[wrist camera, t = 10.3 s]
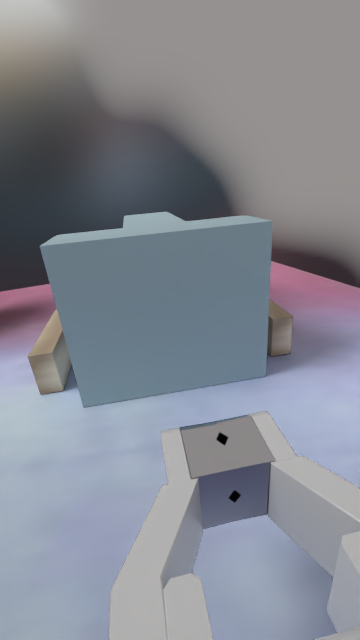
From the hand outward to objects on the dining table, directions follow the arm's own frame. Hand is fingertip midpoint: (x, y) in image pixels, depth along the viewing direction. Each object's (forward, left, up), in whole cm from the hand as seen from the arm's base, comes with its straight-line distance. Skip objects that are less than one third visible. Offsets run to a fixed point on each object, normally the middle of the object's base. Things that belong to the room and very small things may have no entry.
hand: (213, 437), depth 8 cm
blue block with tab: (0, +17, -6) cm, 18 cm away
